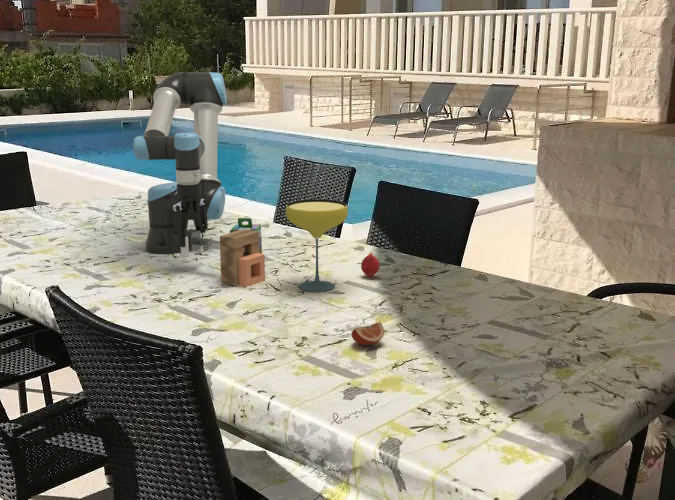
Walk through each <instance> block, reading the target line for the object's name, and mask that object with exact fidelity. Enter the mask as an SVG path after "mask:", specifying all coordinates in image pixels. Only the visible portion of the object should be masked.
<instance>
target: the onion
mask: <svg viewBox="0 0 675 500" xmlns="http://www.w3.org/2000/svg"><path fill="white" fill-rule="evenodd" d="M373 253H374V252H372V251H369V253H368V255H367V256H365V257H364V258H363V259H362V261H361V265H360V268H361V271H362V273H363V274H364V275H366V276H367V277H368V278H372V277H374V276H375V275H376V274H378V272H379V270H380V266H381V265H380V260H379V259H378V258H377V257H376V256H375V255H374V254H373Z"/></svg>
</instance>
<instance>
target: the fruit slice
mask: <svg viewBox="0 0 675 500" xmlns="http://www.w3.org/2000/svg"><path fill="white" fill-rule="evenodd" d="M350 335H351V338H352V340H353V341H354V342H355V343H356V344H358V345H361V346H373V345H375V344H377V343H379V342H380V341H381V340H382V339H383V337H384V335H385V328H384V326H383V324H382V322H381V321H380V322H375V323H372V324H370V325H363V326H360V327H356V328H354V329H353V330H352V331H351V334H350Z"/></svg>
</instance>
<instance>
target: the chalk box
mask: <svg viewBox="0 0 675 500" xmlns="http://www.w3.org/2000/svg"><path fill="white" fill-rule="evenodd" d="M243 222H247V223H246V224H245V223H243ZM242 229H247V230H253V231H259V253H260V254H263V241H262V240H263V238H262V236H263V235H262V225H261V224H259V223H258V224H256V223H254V224H253V220H252V218H251V217H250V218H249V217H239V218H237V224H235V225H233V226H232V228H231V229H230V230H229V233H231V232H235V231H239V230H242Z"/></svg>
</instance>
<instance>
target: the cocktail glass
mask: <svg viewBox="0 0 675 500" xmlns="http://www.w3.org/2000/svg"><path fill="white" fill-rule="evenodd" d="M348 213H349V211H348V205H347V204H346V203H345V202H343V201H339V200H333V199H321V198H320V199H318V198H317V199H315V198H313V199H303V200H295V201H291V202H289V203H287V204H286V207H285V215H286V219H287V220H288V221H289V222H290V223H292V224H293V225H295V226H296V227H298V228H301V229H302V230H304V231H307V232H308V233H309V234H310V235H311V237H312V239H313V238H314V239H315V275H314V276H315V278H314V280H308V281H304V282H301V283H300V284H299V286H298V287H299V290H302V291H305V292H309V293H323V292H324V293H325V292H330V291H332V290H334V289H336V284H335V283H333V282H331V281H326V280H321V279H320V275H319V272H320V271H319V239H321V238H322V237H323V235H324V234H325V233H326V232H328V231H329V230H331V229H333V228H336V227H338V226H339V225H340V224H342V223H343V222H344V221H345V220H346V219H347V218H348Z"/></svg>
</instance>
